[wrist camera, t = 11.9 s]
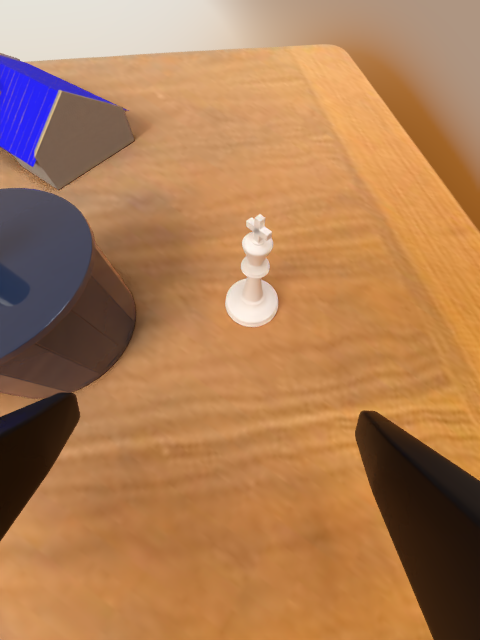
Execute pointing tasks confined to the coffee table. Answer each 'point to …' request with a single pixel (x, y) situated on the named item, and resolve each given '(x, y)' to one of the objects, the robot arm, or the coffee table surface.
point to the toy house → (56, 123)
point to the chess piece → (253, 279)
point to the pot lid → (39, 265)
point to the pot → (77, 340)
